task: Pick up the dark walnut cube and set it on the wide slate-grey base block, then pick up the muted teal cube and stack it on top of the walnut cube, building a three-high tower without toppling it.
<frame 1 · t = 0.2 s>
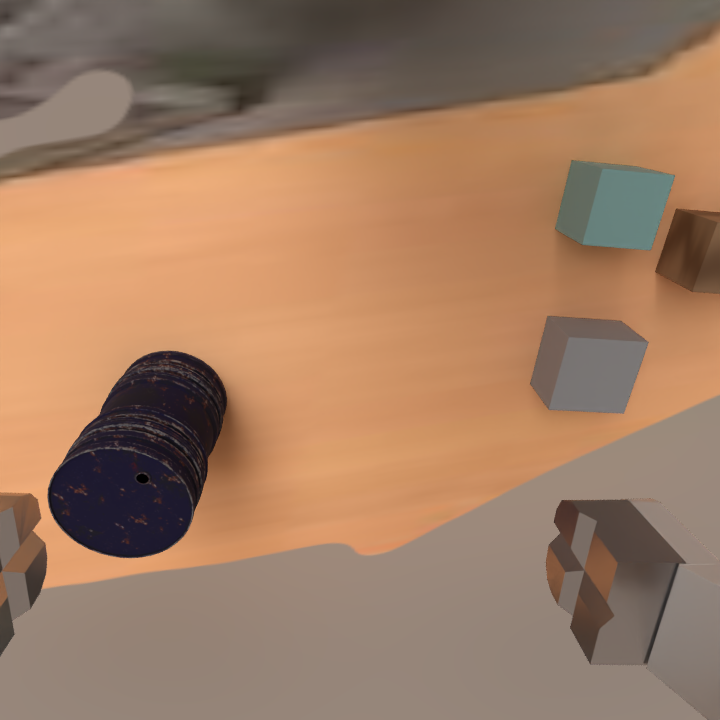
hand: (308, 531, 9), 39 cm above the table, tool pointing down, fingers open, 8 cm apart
teal cube: (594, 198, 46), on the table
grey base block: (573, 352, 52), on the table
walnut cube: (694, 243, 48), on the table
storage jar: (174, 396, 51), on the table
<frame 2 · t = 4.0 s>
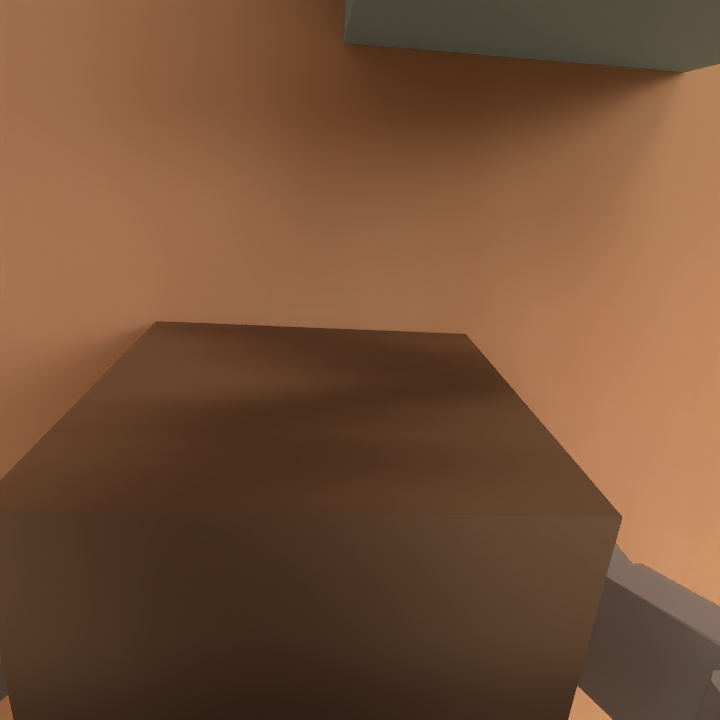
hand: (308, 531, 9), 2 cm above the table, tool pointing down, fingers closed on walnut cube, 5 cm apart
walnut cube: (309, 463, 11), on the table, touching gripper
when the fingers open (8 cm above the table, at t = 9.0 s): walnut cube drops 1 cm, resting on grey base block.
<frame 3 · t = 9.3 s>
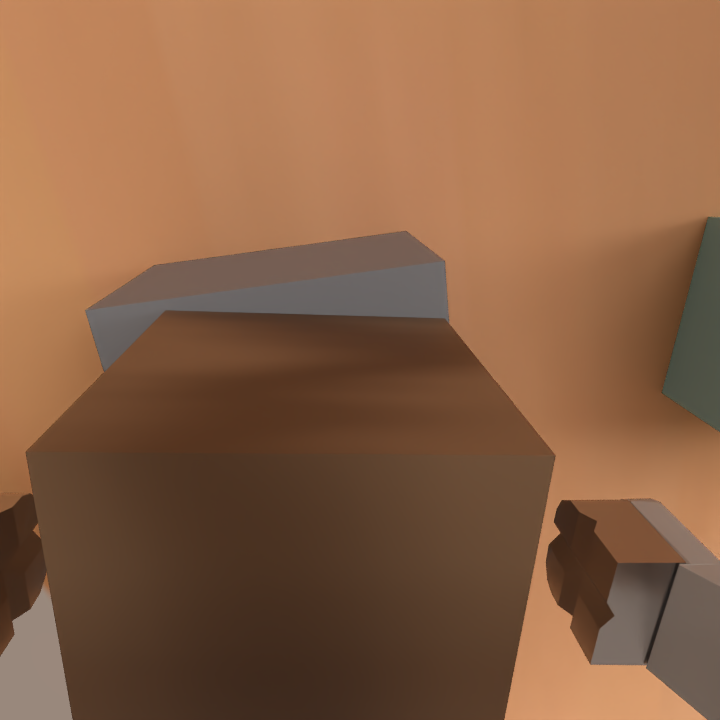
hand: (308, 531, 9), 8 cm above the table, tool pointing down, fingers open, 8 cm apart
grey base block: (301, 363, 17), on the table, touching walnut cube
walnut cube: (305, 438, 12), point 5 cm above the table, touching grey base block
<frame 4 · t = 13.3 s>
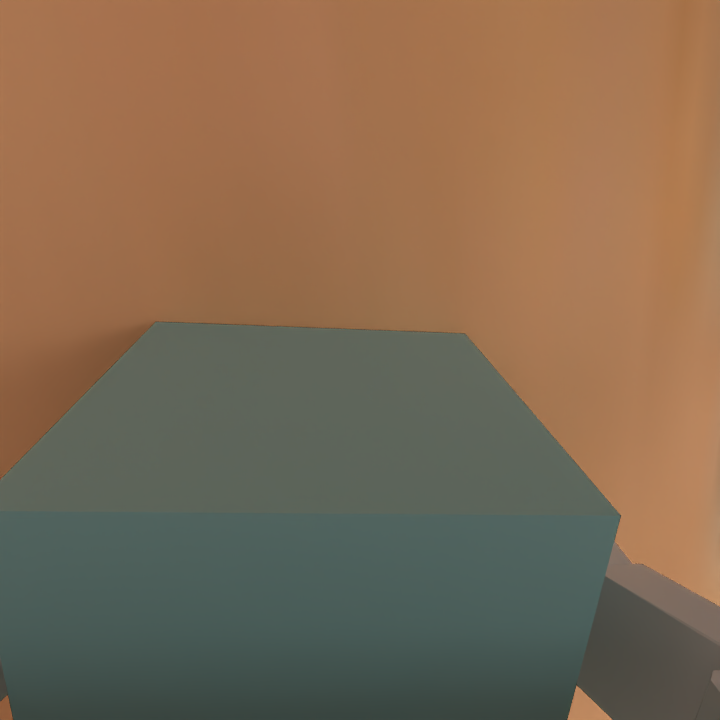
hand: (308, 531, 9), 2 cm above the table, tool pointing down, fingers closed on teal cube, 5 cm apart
teal cube: (309, 462, 11), on the table, touching gripper
when the fingers open (14 cm above the table, at t = 18.2 s): teal cube drops 1 cm, resting on walnut cube.
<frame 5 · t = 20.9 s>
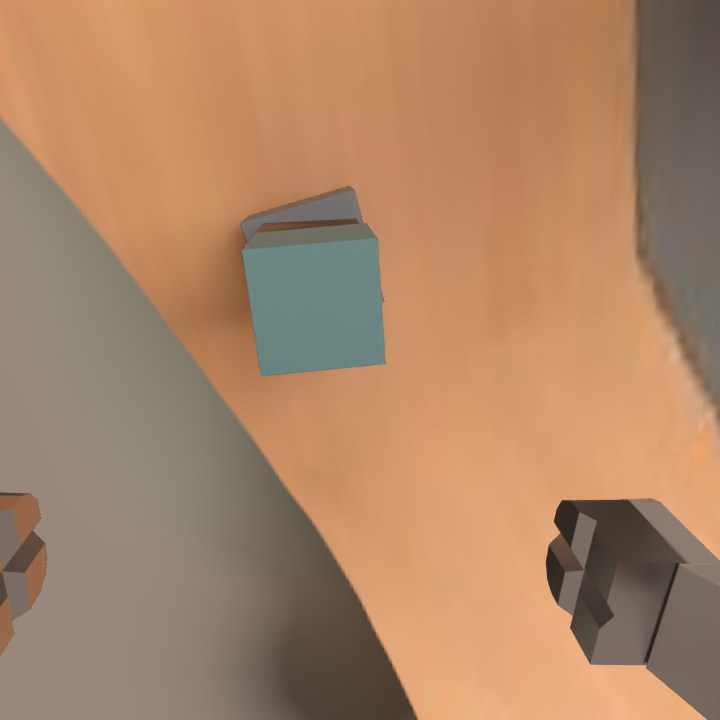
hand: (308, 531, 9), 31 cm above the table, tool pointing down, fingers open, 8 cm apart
teal cube: (316, 282, 28), point 10 cm above the table, touching walnut cube
grey base block: (314, 251, 38), on the table, touching walnut cube
walnut cube: (313, 267, 34), point 5 cm above the table, touching grey base block, teal cube
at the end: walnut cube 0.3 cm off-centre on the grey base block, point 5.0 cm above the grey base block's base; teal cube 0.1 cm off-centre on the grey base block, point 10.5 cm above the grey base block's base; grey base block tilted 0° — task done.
